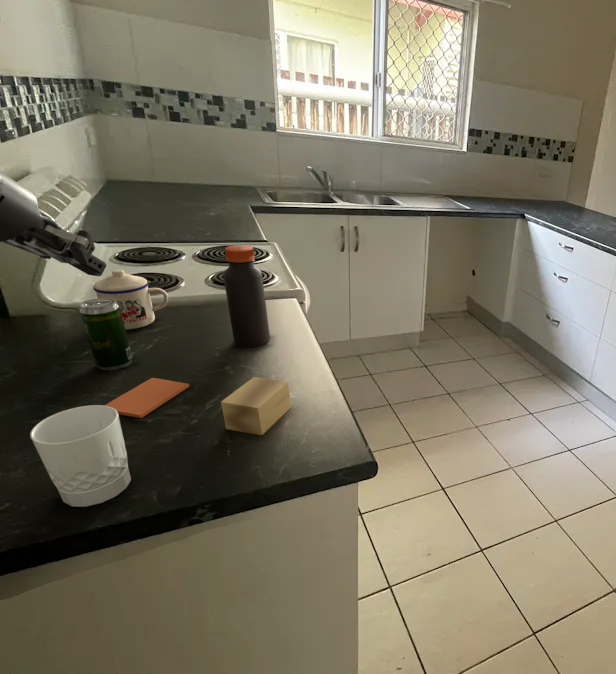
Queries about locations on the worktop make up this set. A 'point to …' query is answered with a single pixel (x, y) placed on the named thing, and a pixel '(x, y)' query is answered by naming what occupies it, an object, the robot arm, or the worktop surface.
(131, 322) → the teacup with lid
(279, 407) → the beech block
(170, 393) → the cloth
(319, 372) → the worktop surface
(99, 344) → the beer can
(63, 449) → the white cup
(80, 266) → the robot arm
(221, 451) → the worktop surface
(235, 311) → the bottle
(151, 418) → the worktop surface
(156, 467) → the worktop surface
